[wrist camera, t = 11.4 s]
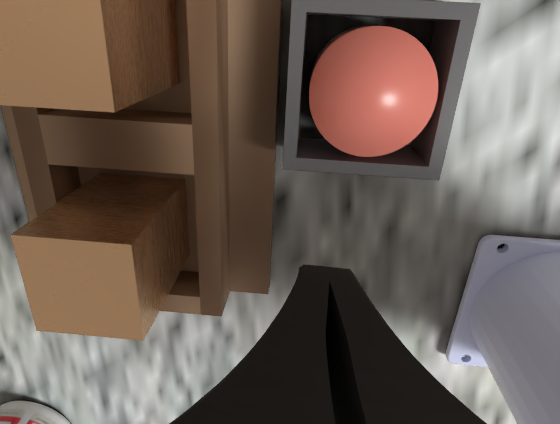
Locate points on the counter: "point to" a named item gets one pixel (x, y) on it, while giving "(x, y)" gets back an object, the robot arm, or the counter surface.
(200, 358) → the counter surface
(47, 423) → the pill bottle
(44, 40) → the block
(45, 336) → the counter surface
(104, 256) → the block
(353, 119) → the button
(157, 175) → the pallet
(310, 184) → the counter surface
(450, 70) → the button housing
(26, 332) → the counter surface
